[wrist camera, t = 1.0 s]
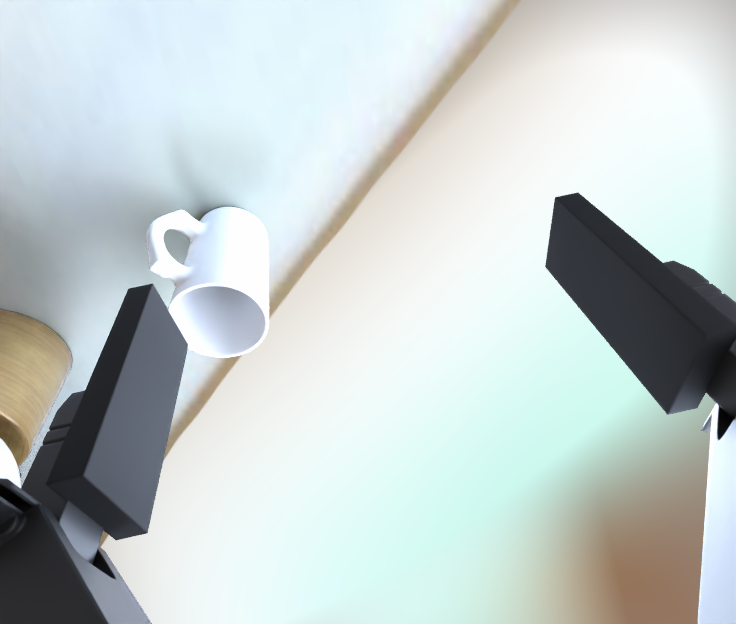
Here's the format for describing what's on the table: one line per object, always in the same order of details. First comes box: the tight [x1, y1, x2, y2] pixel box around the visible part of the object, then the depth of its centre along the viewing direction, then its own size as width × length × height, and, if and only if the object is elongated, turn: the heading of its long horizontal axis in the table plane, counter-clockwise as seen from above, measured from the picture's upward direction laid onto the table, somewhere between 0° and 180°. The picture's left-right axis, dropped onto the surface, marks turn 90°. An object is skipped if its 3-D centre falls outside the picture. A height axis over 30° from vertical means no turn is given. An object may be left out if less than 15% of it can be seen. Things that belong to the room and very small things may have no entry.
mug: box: [146, 207, 269, 358], centre depth 35 cm, size 10×7×12 cm, turn 36°
